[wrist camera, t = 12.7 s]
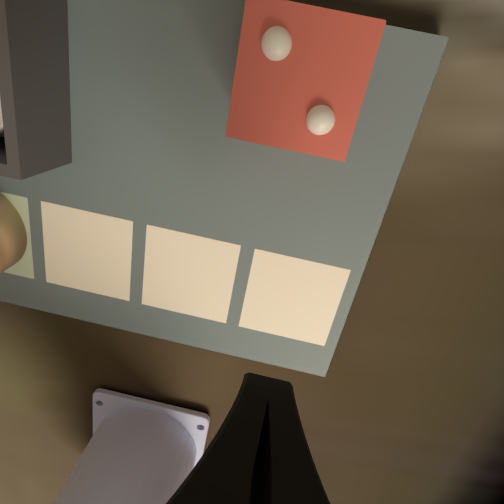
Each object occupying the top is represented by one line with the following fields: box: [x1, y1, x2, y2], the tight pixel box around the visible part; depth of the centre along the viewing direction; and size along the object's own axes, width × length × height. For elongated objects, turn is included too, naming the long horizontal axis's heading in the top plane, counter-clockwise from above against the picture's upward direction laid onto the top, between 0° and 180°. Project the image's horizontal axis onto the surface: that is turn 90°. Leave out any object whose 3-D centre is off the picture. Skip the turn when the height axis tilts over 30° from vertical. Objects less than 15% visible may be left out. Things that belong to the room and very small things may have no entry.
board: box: [0, 0, 449, 377], centre depth 16 cm, size 17×26×4 cm, turn 79°
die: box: [225, 0, 387, 162], centre depth 13 cm, size 4×4×4 cm
